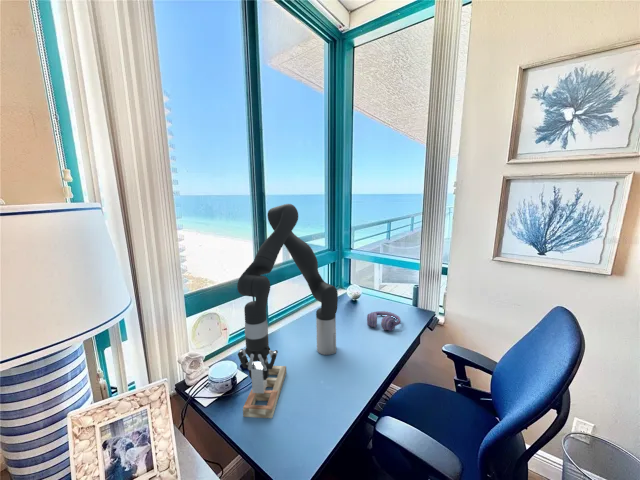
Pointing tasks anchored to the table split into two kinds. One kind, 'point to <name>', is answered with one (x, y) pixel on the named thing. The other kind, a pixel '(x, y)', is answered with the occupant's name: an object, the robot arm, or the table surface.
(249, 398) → the wooden slotted board
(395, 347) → the table surface
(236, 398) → the table surface
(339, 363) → the table surface
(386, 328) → the headphones
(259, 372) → the steel peg
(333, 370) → the table surface
